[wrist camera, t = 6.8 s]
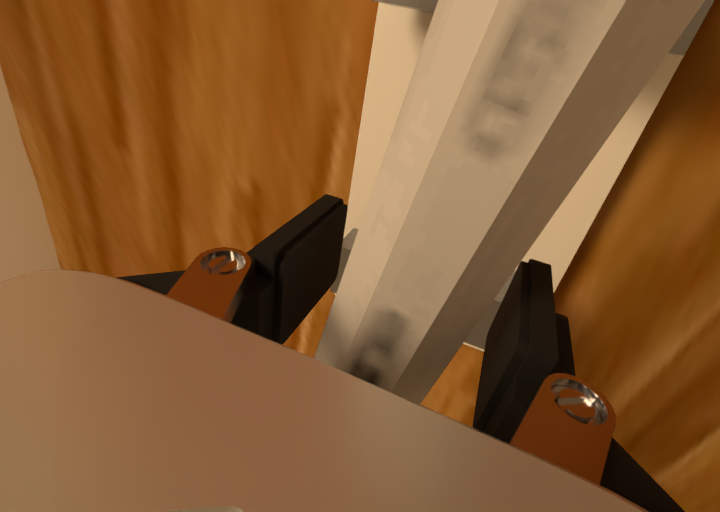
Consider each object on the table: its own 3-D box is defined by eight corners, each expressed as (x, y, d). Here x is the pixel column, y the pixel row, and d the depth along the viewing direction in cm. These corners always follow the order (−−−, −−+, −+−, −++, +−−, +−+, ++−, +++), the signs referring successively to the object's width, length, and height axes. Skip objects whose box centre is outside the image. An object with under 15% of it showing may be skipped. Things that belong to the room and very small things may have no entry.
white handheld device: (1954, -1360, 2) (310, 662, 13) (812, -209, 7) (369, 487, 19) (700, -1207, 2) (184, 574, 14) (556, -272, 8) (279, 433, 20)
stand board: (416, -181, 19) (408, -196, 18) (790, -161, 15) (812, -179, 14) (341, 285, 35) (334, 294, 34) (515, 351, 32) (515, 363, 30)
